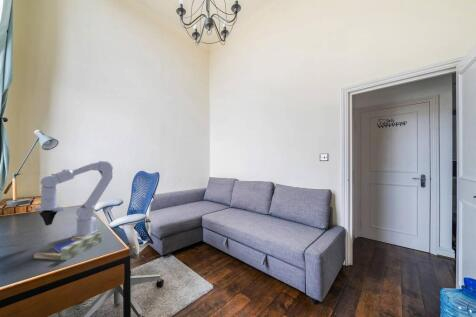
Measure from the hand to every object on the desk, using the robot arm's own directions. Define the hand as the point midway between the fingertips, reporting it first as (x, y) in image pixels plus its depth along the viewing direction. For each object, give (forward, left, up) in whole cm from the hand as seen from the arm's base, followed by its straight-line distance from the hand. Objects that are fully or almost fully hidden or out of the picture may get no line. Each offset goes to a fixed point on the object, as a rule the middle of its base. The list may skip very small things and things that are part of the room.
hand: (48, 224), depth 101 cm
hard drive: (+4, +16, -10) cm, 19 cm away
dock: (+5, +18, -9) cm, 21 cm away
